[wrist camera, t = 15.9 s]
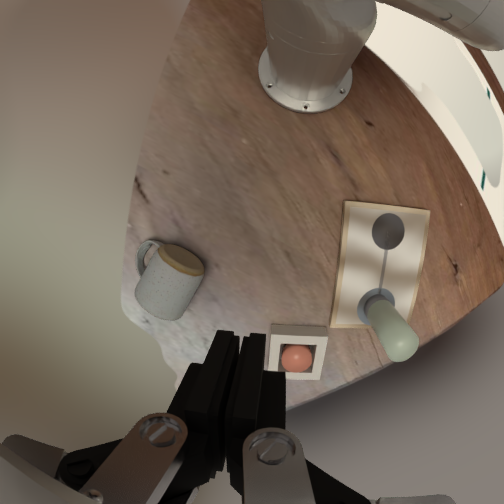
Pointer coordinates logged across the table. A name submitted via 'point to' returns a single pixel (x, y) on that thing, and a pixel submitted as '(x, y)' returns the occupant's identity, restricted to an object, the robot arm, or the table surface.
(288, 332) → the button housing
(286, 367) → the button
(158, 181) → the table surface
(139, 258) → the ceramic mug
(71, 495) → the robot arm
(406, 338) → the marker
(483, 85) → the table surface
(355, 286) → the board
